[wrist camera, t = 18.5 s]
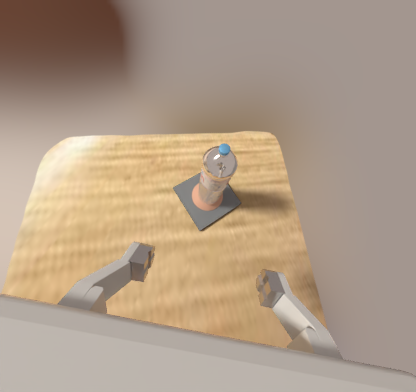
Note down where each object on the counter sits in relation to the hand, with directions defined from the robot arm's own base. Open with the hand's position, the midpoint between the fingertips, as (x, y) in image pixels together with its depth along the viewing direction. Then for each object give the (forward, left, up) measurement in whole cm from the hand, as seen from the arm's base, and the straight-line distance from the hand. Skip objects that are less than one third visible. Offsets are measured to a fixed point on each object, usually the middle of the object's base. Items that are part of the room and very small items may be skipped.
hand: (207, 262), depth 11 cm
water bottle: (+11, -12, -33) cm, 37 cm away
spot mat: (+12, -12, -34) cm, 38 cm away
